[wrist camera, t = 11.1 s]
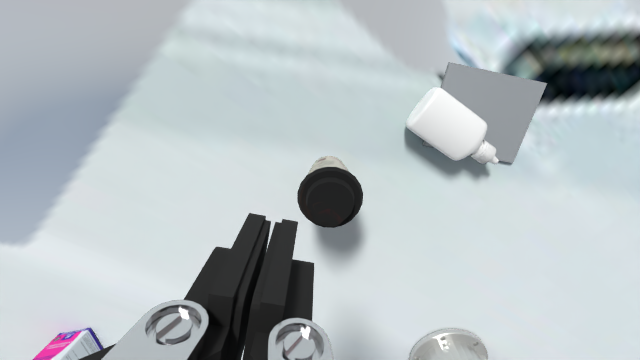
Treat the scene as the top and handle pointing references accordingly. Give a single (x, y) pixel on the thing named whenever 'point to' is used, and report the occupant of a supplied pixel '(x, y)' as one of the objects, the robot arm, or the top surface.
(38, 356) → the supplement box
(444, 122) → the eye dropper bottle
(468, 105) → the mat
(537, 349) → the top surface
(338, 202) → the coffee cup
